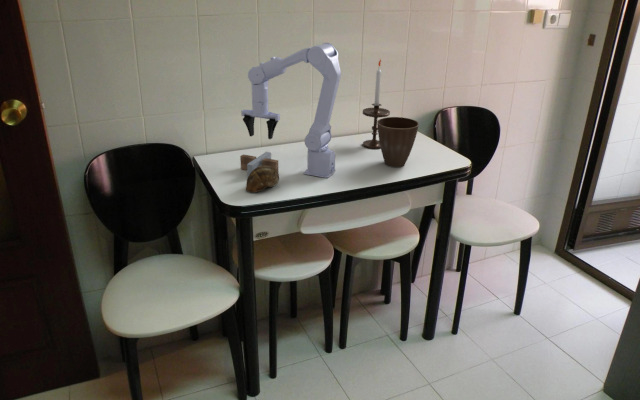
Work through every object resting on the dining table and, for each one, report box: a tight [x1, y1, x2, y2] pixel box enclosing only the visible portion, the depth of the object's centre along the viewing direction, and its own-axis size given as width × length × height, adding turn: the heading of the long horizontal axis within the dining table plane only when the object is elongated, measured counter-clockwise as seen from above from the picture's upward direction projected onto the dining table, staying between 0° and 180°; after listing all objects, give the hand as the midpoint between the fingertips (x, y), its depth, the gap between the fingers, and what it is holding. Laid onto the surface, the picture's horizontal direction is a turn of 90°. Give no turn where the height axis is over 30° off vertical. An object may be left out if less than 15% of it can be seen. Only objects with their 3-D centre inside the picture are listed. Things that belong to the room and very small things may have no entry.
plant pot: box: [377, 116, 420, 168], centre depth 189 cm, size 15×15×16 cm
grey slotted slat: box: [246, 151, 272, 178], centre depth 181 cm, size 14×2×5 cm, turn 158°
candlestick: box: [362, 59, 391, 150], centre depth 203 cm, size 11×11×35 cm
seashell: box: [245, 166, 280, 193], centre depth 167 cm, size 11×9×8 cm
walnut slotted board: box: [239, 154, 280, 174], centre depth 181 cm, size 14×2×5 cm, turn 68°
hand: (261, 137), depth 187 cm, fingers open, 7 cm apart
